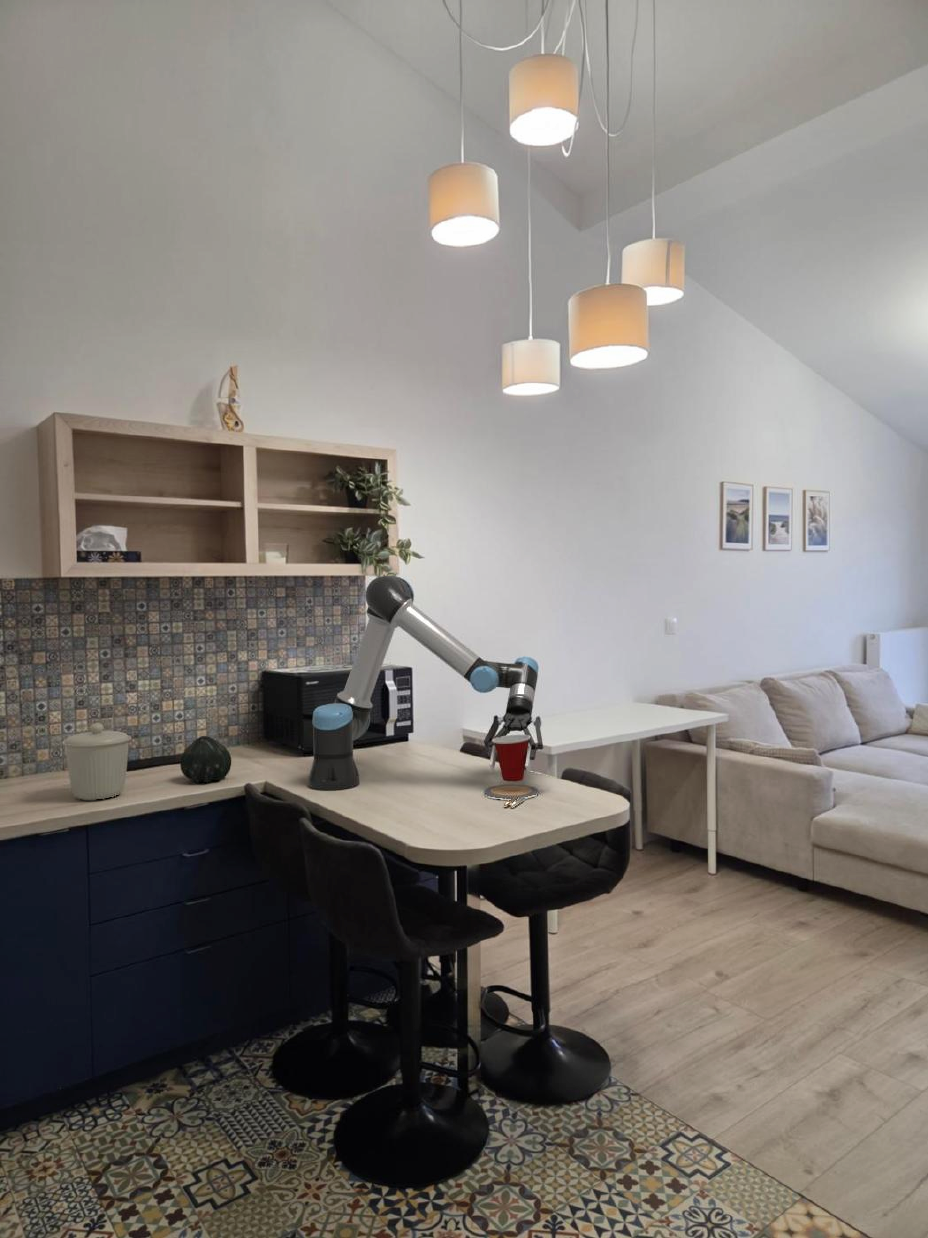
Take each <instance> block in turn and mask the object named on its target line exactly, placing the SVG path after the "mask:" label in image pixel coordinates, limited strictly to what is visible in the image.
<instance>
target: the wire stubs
mask: <svg viewBox="0 0 928 1238" xmlns="http://www.w3.org/2000/svg"><path fill="white" fill-rule="evenodd" d="M517 799H518V797H517V796H515V797H514V798H512V799H511V800H509V801H505V802H504V803H503V805H504V806H508V805H509V804H510V803H512V804H511V805H510V806H511V807H513V806H515V805H516V804H518V803H520V802H521V801H523V800H524V799H525V798H524V797H521V798H519V799H518V800H517ZM515 800H516V801H515ZM514 801H515V802H514ZM524 801H525V800H524ZM524 801H523V802H524ZM520 804H521V803H520ZM504 806H503V807H504ZM510 806H509V807H510Z"/></svg>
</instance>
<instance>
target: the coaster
mask: <svg viewBox="0 0 928 1238" xmlns="http://www.w3.org/2000/svg"><path fill="white" fill-rule="evenodd" d="M483 791H484V792H483V793H484V794H485V795H487V796H490V797H495V798H503V799H505V798H506V799H512V798H514V797H515V796H517V797H518V798H521V797H528V796H532V795H536V794H537V793H538V794H539V789H538V788H536V787H533V786H531V785H525V784H524V785H523V784H500V785H499V784H498V785H493V786H489V787H486V788H485V789H484V790H483ZM485 795H484V796H485Z"/></svg>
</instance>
